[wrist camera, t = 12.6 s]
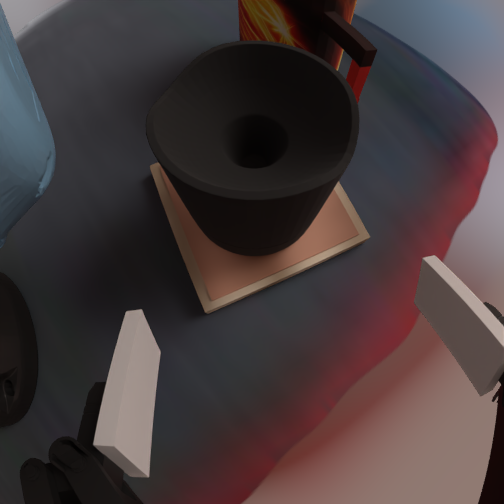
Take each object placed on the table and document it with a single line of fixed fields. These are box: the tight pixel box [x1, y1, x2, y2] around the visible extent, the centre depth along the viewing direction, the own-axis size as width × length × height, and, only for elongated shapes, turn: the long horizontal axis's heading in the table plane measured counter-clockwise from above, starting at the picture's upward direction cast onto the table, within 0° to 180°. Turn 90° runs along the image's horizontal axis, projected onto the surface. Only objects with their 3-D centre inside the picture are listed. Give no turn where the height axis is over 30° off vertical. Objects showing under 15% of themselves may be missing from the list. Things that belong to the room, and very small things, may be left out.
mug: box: [238, 0, 377, 104], centre depth 21 cm, size 10×14×12 cm
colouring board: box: [150, 162, 370, 314], centre depth 23 cm, size 12×12×1 cm
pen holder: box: [146, 40, 359, 256], centre depth 17 cm, size 9×9×10 cm
